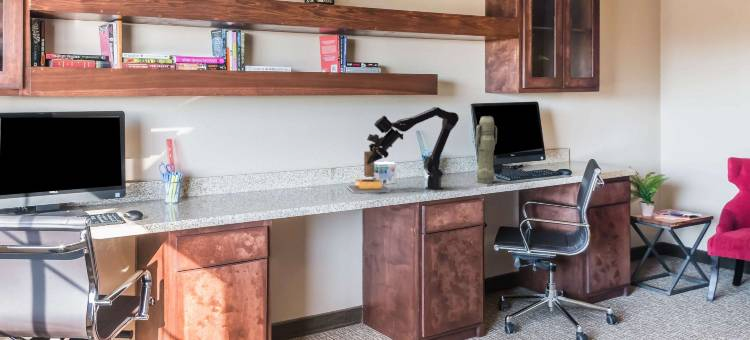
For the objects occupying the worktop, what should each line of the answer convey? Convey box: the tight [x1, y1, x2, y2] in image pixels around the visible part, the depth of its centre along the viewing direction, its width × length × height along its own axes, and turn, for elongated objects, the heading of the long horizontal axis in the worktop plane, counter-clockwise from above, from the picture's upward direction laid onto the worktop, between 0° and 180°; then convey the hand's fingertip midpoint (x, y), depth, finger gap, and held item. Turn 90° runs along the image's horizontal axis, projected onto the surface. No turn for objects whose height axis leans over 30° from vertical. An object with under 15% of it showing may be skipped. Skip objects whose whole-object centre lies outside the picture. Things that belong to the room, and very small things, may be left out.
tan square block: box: [363, 150, 375, 178], centre depth 340 cm, size 4×4×12 cm
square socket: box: [346, 178, 392, 194], centre depth 342 cm, size 18×18×5 cm
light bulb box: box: [371, 161, 397, 185], centre depth 367 cm, size 11×7×11 cm, turn 123°
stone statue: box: [475, 115, 498, 185], centre depth 370 cm, size 9×12×35 cm
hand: (366, 162), depth 339 cm, fingers closed on tan square block, 4 cm apart
